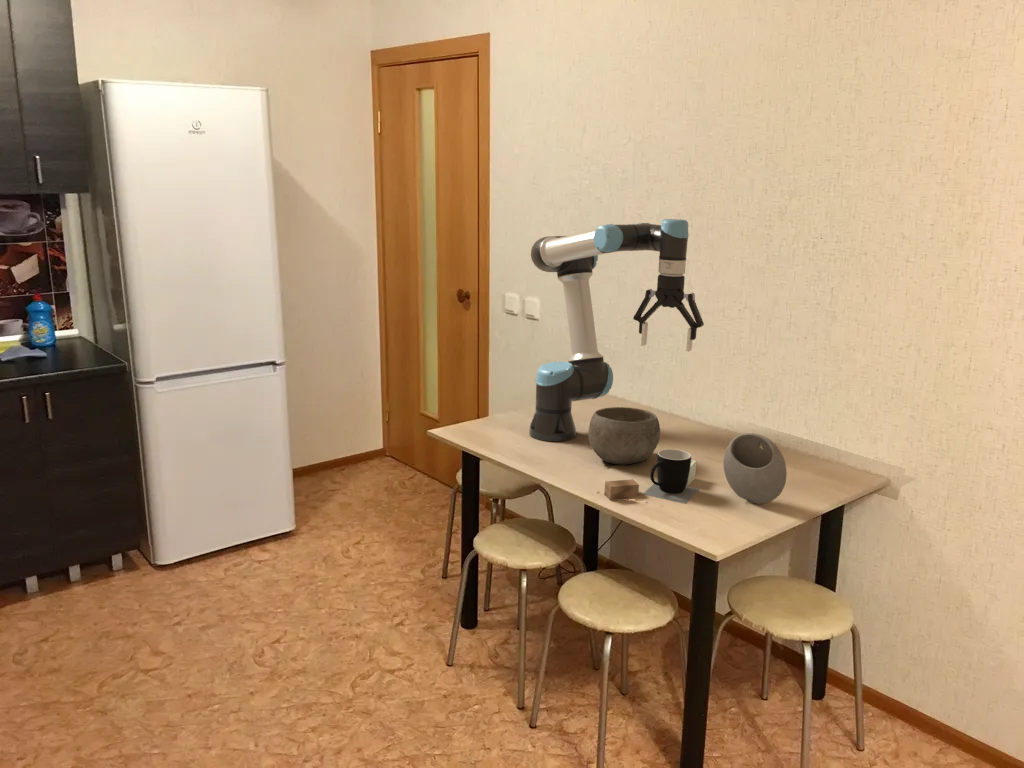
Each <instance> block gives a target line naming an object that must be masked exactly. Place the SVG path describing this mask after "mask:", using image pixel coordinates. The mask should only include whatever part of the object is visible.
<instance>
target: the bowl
mask: <svg viewBox="0 0 1024 768" xmlns="http://www.w3.org/2000/svg"><path fill="white" fill-rule="evenodd" d="M660 426H661V425H660V421H659V419H658V416H657V415H656V414H655V413H654V412H651V411H649V410H646V409H641V408H636V407H627V406H625V407H624V406H614V407H613V406H612V407H604V408H600V409H597V410H595V411H594V413H593V414H592V416H591V419H590V421H589V426H588V433H587V434H588V442H589V444H590V447H591V449H592V450H593V452H594V453H595V454H596V455H597V456H598V458H599V459H602V461H604V462H606V463H609V464H612V465H613V464H614V465H619V466H620V465H631V464H636V463H640V462H643V461H644V460H645V461H646V460H647V459H648V458H650V457H651V455H653V453H654V452H655V450H656V448H657V445H658V443H659V441H660V436H661V427H660Z"/></svg>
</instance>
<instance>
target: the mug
mask: <svg viewBox="0 0 1024 768" xmlns="http://www.w3.org/2000/svg"><path fill="white" fill-rule="evenodd" d="M691 460H692V454H691V453H689V452H688V451H686V450H681V449H677V448H665V449H660V450H659V451H658V452H657V454H656V463H655V464H654V465H653V466H652V468H651V470H650V473H649V478H650V480H651V482H652V484H655V485H659V488H660V489H661V490H662V491H663V492H666V493H671V494H678V493H682V492H683V491H684V489H685V487H687V486H686V484H687V481H688V477H689V471H690V465H691ZM655 472H656V475H657V481H658V482H656V480H655V477H654V476H655V475H654V474H655Z"/></svg>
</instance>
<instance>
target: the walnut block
mask: <svg viewBox="0 0 1024 768" xmlns="http://www.w3.org/2000/svg"><path fill="white" fill-rule="evenodd" d="M639 488H640V484H639V482H636V480H635V479H633V478H631V479H622V480H621V479H619V480H618V479H617V480H609V481H608V480H606V481H604V494H603V495H604V496H605V497H606V498H607V499H608V500H609V501H619V500H620V501H621V500H631V499H634V498H633V496H639V492H640V489H639Z"/></svg>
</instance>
